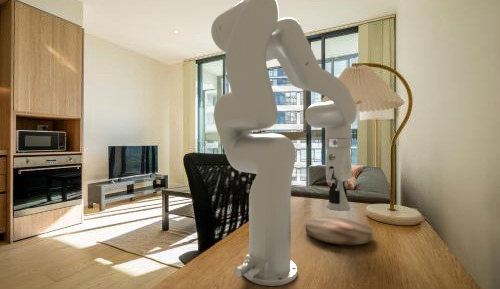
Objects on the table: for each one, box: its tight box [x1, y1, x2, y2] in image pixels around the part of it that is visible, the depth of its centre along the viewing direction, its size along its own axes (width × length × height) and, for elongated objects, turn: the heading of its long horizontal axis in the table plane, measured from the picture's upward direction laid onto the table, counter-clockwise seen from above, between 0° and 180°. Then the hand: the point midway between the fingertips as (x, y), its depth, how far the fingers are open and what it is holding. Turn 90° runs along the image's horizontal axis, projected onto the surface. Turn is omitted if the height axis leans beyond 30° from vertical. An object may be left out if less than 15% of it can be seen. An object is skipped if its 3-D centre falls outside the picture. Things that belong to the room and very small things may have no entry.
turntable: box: [304, 216, 374, 246], centre depth 80 cm, size 20×20×2 cm
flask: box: [326, 178, 351, 212], centre depth 80 cm, size 7×7×10 cm
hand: (338, 201), depth 80 cm, fingers closed on flask, 5 cm apart
